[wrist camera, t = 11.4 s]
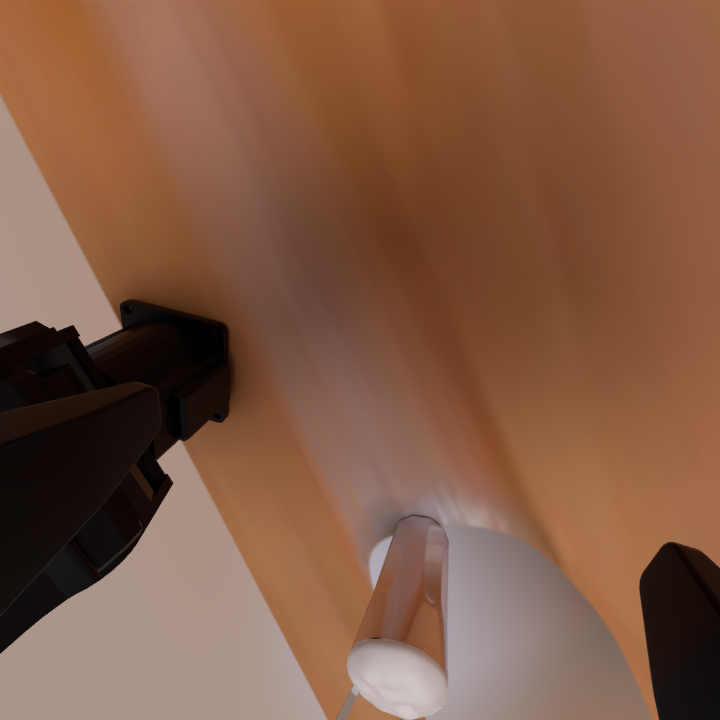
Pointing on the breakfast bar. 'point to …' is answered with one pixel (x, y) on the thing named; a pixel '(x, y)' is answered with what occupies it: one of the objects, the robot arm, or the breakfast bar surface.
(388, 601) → the milkshake
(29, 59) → the breakfast bar surface
